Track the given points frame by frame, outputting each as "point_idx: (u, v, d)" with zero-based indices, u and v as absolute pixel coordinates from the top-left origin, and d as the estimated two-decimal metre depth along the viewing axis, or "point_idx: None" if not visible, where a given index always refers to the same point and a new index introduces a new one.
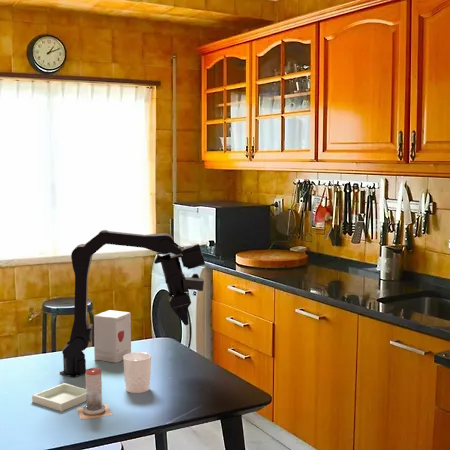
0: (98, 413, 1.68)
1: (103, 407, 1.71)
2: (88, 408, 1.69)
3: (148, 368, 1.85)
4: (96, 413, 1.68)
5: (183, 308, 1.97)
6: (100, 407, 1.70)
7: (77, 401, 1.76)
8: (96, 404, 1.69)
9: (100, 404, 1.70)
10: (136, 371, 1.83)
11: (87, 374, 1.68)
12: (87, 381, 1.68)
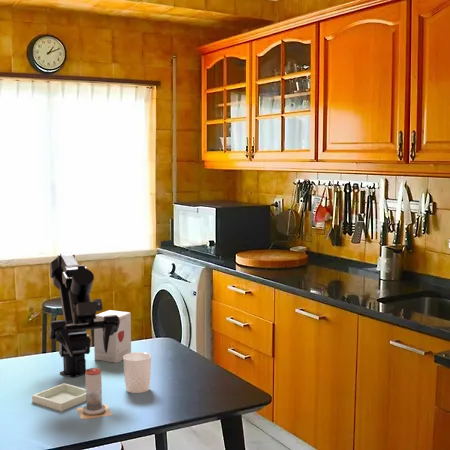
0: (98, 413, 1.68)
1: (103, 407, 1.71)
2: (88, 408, 1.69)
3: (148, 368, 1.85)
4: (96, 413, 1.68)
5: None
6: (100, 407, 1.70)
7: (77, 401, 1.76)
8: (96, 404, 1.69)
9: (100, 404, 1.70)
10: (136, 371, 1.83)
11: (87, 374, 1.68)
12: (87, 381, 1.68)
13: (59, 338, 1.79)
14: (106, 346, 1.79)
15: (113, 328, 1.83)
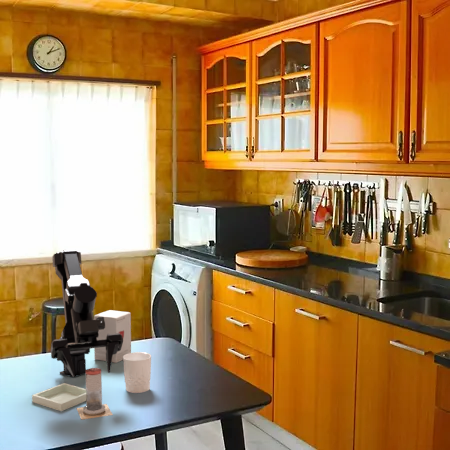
0: (98, 413, 1.68)
1: (103, 407, 1.71)
2: (88, 408, 1.69)
3: (148, 368, 1.85)
4: (96, 413, 1.68)
5: None
6: (100, 407, 1.70)
7: (77, 401, 1.76)
8: (96, 404, 1.69)
9: (100, 404, 1.70)
10: (136, 371, 1.83)
11: (87, 374, 1.68)
12: (87, 381, 1.68)
13: (61, 357, 1.74)
14: (109, 365, 1.74)
15: (116, 346, 1.78)
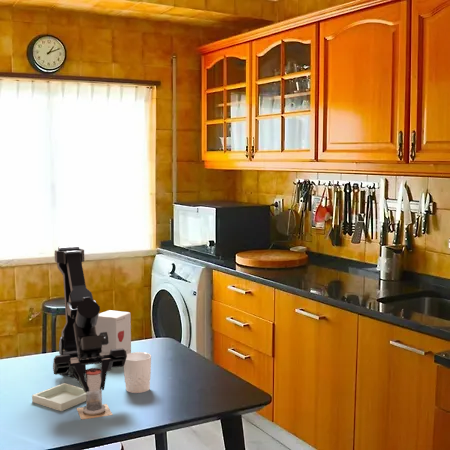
0: (98, 413, 1.68)
1: (103, 407, 1.71)
2: (88, 408, 1.69)
3: (148, 368, 1.85)
4: (96, 413, 1.68)
5: None
6: (100, 407, 1.70)
7: (77, 401, 1.76)
8: (96, 404, 1.69)
9: (100, 404, 1.70)
10: (136, 371, 1.83)
11: (87, 374, 1.68)
12: (87, 381, 1.68)
13: (73, 372, 1.72)
14: (103, 383, 1.70)
15: (111, 363, 1.73)
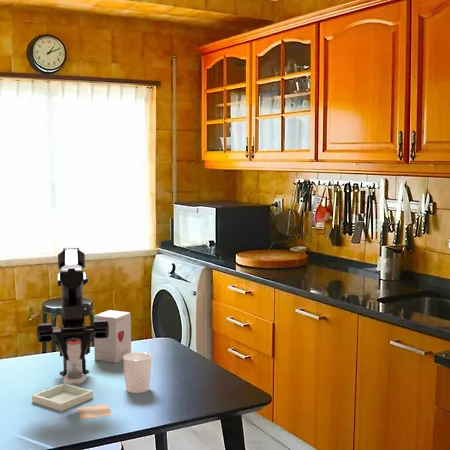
0: (77, 382, 1.72)
1: (83, 376, 1.74)
2: (68, 376, 1.73)
3: (148, 368, 1.85)
4: (75, 382, 1.72)
5: None
6: (80, 376, 1.73)
7: (77, 401, 1.76)
8: (75, 373, 1.72)
9: (80, 373, 1.73)
10: (136, 371, 1.83)
11: (67, 343, 1.72)
12: (67, 350, 1.72)
13: (56, 341, 1.76)
14: (83, 353, 1.73)
15: (92, 334, 1.76)
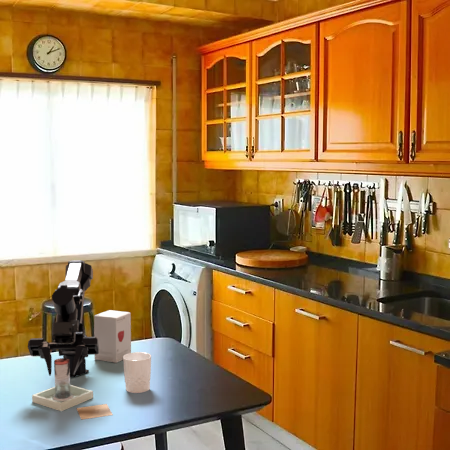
0: (63, 401, 1.76)
1: (71, 396, 1.78)
2: (56, 396, 1.78)
3: (148, 368, 1.85)
4: (61, 401, 1.76)
5: None
6: (67, 396, 1.78)
7: (77, 401, 1.76)
8: (62, 393, 1.77)
9: (67, 393, 1.77)
10: (136, 371, 1.83)
11: (54, 363, 1.77)
12: (54, 370, 1.77)
13: (43, 356, 1.81)
14: (73, 368, 1.77)
15: (85, 350, 1.80)
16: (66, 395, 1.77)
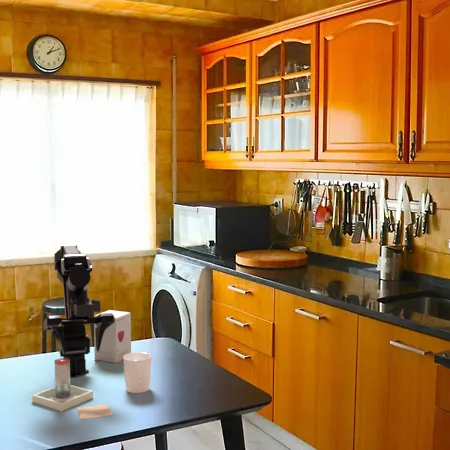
0: (63, 401, 1.76)
1: (71, 396, 1.78)
2: (56, 396, 1.78)
3: (148, 368, 1.85)
4: (61, 401, 1.76)
5: None
6: (67, 396, 1.78)
7: (77, 401, 1.76)
8: (62, 393, 1.77)
9: (67, 393, 1.78)
10: (136, 371, 1.83)
11: (55, 363, 1.77)
12: (55, 370, 1.77)
13: (53, 331, 1.80)
14: (98, 345, 1.81)
15: (107, 326, 1.84)
16: (66, 395, 1.77)
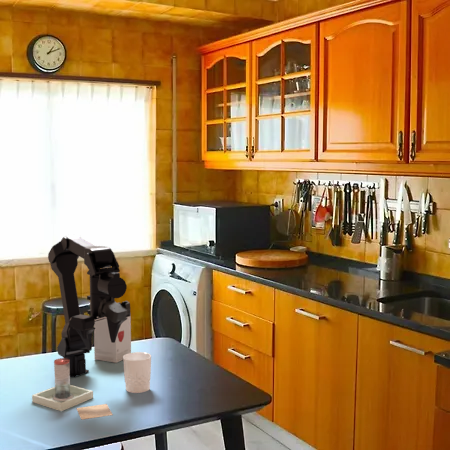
0: (63, 401, 1.76)
1: (71, 396, 1.78)
2: (56, 396, 1.78)
3: (148, 368, 1.85)
4: (61, 401, 1.76)
5: (86, 332, 1.80)
6: (67, 396, 1.78)
7: (77, 401, 1.76)
8: (62, 393, 1.77)
9: (67, 393, 1.78)
10: (136, 371, 1.83)
11: (54, 363, 1.77)
12: (55, 370, 1.77)
13: None
14: (115, 338, 1.89)
15: None
16: (66, 395, 1.77)
